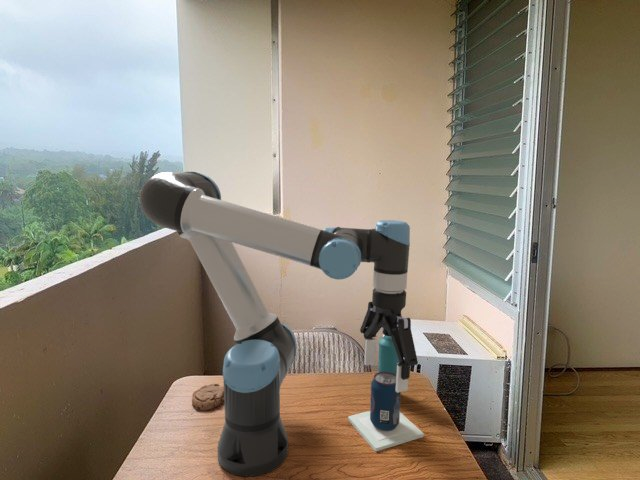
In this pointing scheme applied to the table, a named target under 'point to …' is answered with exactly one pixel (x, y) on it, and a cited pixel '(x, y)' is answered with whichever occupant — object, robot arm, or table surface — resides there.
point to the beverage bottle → (387, 354)
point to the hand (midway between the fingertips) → (384, 376)
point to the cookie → (208, 397)
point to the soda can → (384, 402)
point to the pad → (384, 438)
